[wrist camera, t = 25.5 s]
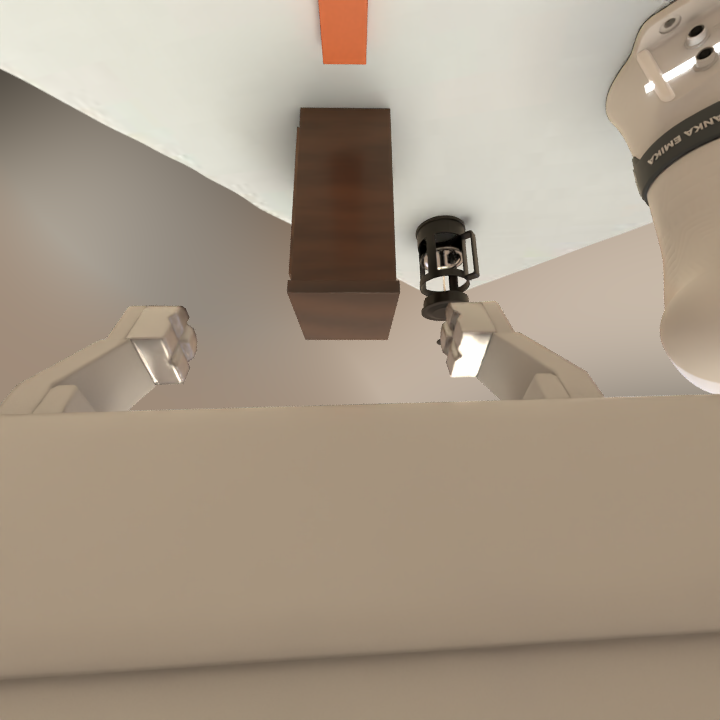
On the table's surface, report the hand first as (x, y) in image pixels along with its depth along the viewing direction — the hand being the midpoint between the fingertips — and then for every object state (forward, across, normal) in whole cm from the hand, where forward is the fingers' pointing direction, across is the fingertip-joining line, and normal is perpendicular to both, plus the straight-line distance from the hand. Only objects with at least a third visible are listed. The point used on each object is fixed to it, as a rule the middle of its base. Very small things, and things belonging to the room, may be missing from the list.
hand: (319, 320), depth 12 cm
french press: (+58, -21, +23) cm, 66 cm away
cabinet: (+50, -2, +8) cm, 50 cm away
